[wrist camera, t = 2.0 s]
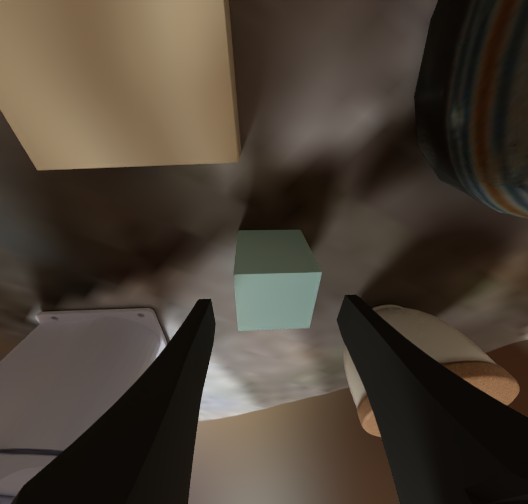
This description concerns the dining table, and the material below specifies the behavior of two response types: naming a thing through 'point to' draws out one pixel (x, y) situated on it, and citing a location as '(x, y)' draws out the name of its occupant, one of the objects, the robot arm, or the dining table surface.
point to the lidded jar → (443, 351)
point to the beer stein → (477, 100)
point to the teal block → (274, 280)
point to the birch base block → (119, 82)
